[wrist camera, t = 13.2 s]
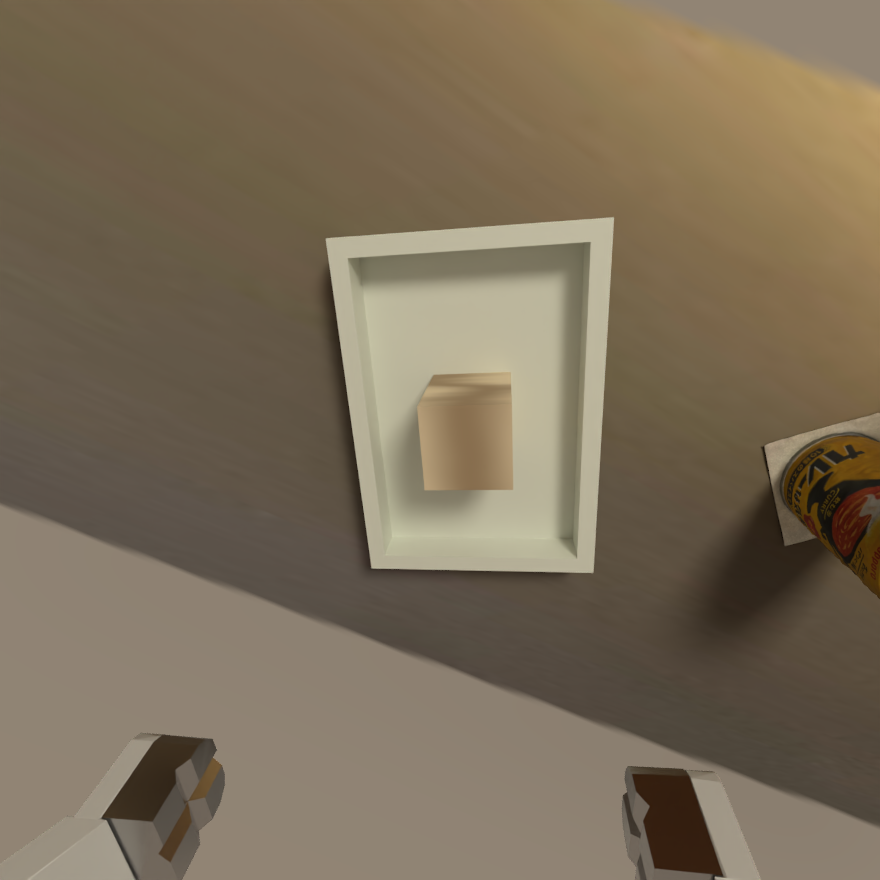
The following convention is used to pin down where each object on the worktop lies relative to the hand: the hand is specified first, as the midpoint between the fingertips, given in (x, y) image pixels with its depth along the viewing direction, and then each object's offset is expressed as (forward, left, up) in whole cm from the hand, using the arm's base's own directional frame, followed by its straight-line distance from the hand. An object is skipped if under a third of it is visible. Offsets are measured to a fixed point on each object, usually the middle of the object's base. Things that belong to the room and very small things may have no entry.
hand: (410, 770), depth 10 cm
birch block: (0, 0, -22) cm, 22 cm away
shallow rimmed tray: (0, 0, -23) cm, 23 cm away
